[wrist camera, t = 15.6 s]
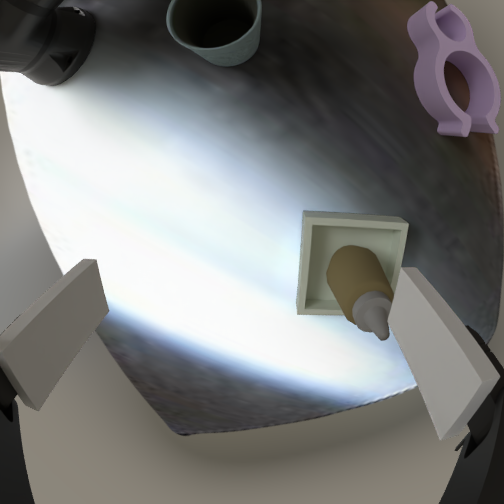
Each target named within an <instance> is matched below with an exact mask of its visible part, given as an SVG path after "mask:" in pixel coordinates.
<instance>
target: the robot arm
mask: <svg viewBox="0 0 504 504" xmlns="http://www.w3.org/2000/svg"><path fill="white" fill-rule="evenodd" d="M63 1H64V0H0V71H5V72H19V73H22V74H23V75H25V76H26V77H28V78H29V79H31V80H32V81H34V82H35V83H37V84H40V85H49V86H52V85H57V84H60V83H62V82H64V81H65V80H67V79H68V78H70V77H71V76H72V75H73V74H74V73H75V72H76V71H77V70H78V69H79V68H80V66H81V65H82V64H83V62H84V61H85V59H86V58H87V56H88V54H89V52H90V50H91V47H92V44H93V41H94V37H95V22H94V19H93V17H92V16H91V14H90V13H88V12H87V11H85V10H83V9H81V8H77V7H58V6H59V5H60V4H61V3H62V2H63ZM108 312H109V308H108V305H107V301H106V297H105V294H104V290H103V286H102V282H101V278H100V273H99V269H98V265H97V260H95V259H83V260H82V261H80V262H79V263H78V264H77V265H76V266H74V267H73V268H72V269H71V270H70V271H69V272H67V273H66V274H65V275H64V276H63V277H62V278H60V279H59V280H58V281H57V282H56V283H55V284H54V285H52V286H51V287H50V288H49V289H48V290H47V291H46V292H45V293H44V294H43V295H41V296H40V297H39V298H38V299H37V300H36V301H35V302H34V303H33V304H32V305H31V306H30V307H28V308H27V309H26V310H25V311H24V312H23V313H22V314H21V315H20V316H19V317H17V318H16V320H14V322H12V324H10V325H9V326H8V327H7V329H6V330H4V331H3V333H2V334H1V335H0V504H35V503H34V499H33V495H32V492H31V488H30V484H29V479H28V475H27V470H26V465H25V460H24V454H23V448H22V441H21V433H20V424H19V414H18V405H17V402H16V401H15V399H14V398H15V397H16V395H17V394H18V396H19V397H20V398H21V400H22V401H23V403H24V404H25V405H26V406H28V407H30V408H32V409H34V410H37V411H39V410H40V408H41V407H42V405H43V404H44V402H45V401H46V399H47V397H48V396H49V394H50V393H51V391H52V390H53V388H54V387H55V385H56V384H57V382H58V381H59V379H60V378H61V377H62V375H63V374H64V372H65V371H66V369H67V368H68V366H69V365H70V364H71V362H72V361H73V359H74V358H75V356H76V355H77V354H78V352H79V351H80V349H81V348H82V347H83V345H84V344H85V343H86V341H87V340H88V338H89V337H90V336H91V335H92V333H93V332H94V330H95V329H96V328H97V326H98V325H99V324H100V323H101V321H102V320H103V319H104V317H105V316H106V315H107V313H108ZM387 322H388V324H389V326H390V328H391V330H392V332H393V334H394V336H395V338H396V340H397V342H398V344H399V346H400V348H401V350H402V352H403V354H404V357H405V359H406V361H407V363H408V365H409V367H410V369H411V372H412V374H413V376H414V378H415V381H416V383H417V385H418V387H419V390H420V392H421V394H422V397H423V399H424V401H425V404H426V406H427V409H428V411H429V414H430V416H431V419H432V421H433V423H434V426H435V429H436V431H437V434H438V436H439V439H440V441H441V440H444V439H447V438H451V437H454V436H457V435H458V434H459V433H460V432H461V431H462V430H463V429H464V427H465V426H466V425H468V427H469V429H470V432H469V433H468V434H467V435H466V436H465V438H464V439H463V440H462V441H461V442H460V444H459V445H458V446H457V447H456V449H455V451H458V450H459V449H460V447H461V446H462V445H463V447H462V450H461V453H460V455H459V458H458V461H457V463H456V466H455V468H454V471H453V474H452V476H451V478H450V481H449V483H448V485H447V487H446V490H445V492H444V494H443V496H442V498H441V500H440V502H439V504H504V369H503V367H502V365H501V364H500V363H499V361H498V360H497V358H496V357H495V355H494V354H493V353H492V352H490V349H489V347H488V346H487V344H485V342H484V340H483V339H482V338H481V336H480V335H479V334H478V333H477V332H476V331H474V330H473V329H472V328H470V327H469V326H464V324H463V323H462V322H461V320H460V319H459V318H458V317H457V315H456V314H455V313H454V312H453V310H452V309H451V308H450V307H449V305H448V304H447V303H446V302H445V300H444V299H443V298H442V297H441V296H440V294H439V293H438V292H437V291H436V290H435V288H434V287H433V286H432V285H431V284H430V283H429V281H428V280H427V279H426V278H425V277H424V276H423V275H422V274H421V272H420V271H419V270H418V269H417V268H416V267H401V269H400V274H399V278H398V282H397V287H396V291H395V295H394V299H393V302H392V306H391V310H390V314H389V317H388V321H387Z"/></svg>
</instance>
